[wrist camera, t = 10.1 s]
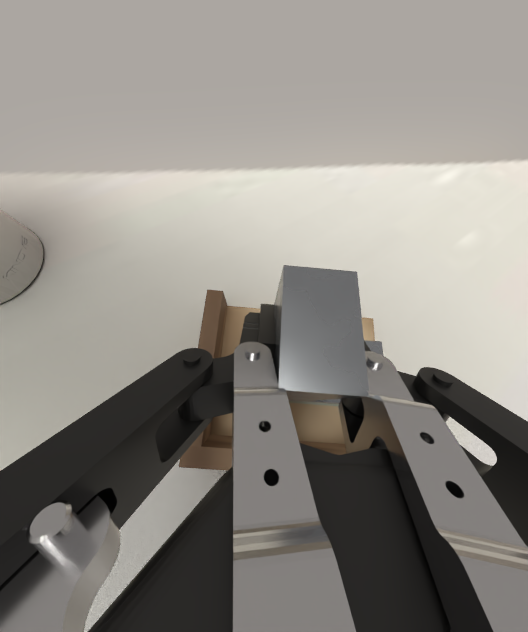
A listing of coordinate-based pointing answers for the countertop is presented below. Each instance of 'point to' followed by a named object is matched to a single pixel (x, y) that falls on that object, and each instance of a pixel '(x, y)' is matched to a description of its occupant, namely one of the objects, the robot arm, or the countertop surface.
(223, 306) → the walls
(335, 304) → the bracket
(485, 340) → the countertop surface
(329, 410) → the tray
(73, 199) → the countertop surface
